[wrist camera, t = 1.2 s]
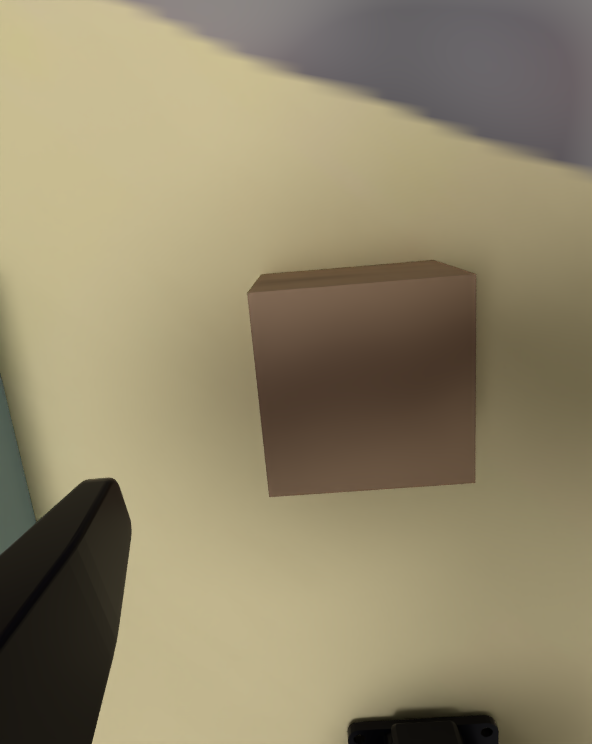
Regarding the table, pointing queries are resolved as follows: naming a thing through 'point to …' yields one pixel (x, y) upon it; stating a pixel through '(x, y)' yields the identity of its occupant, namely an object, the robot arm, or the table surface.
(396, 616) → the table surface
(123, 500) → the robot arm
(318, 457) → the walnut block
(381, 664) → the table surface
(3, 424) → the teal base box
